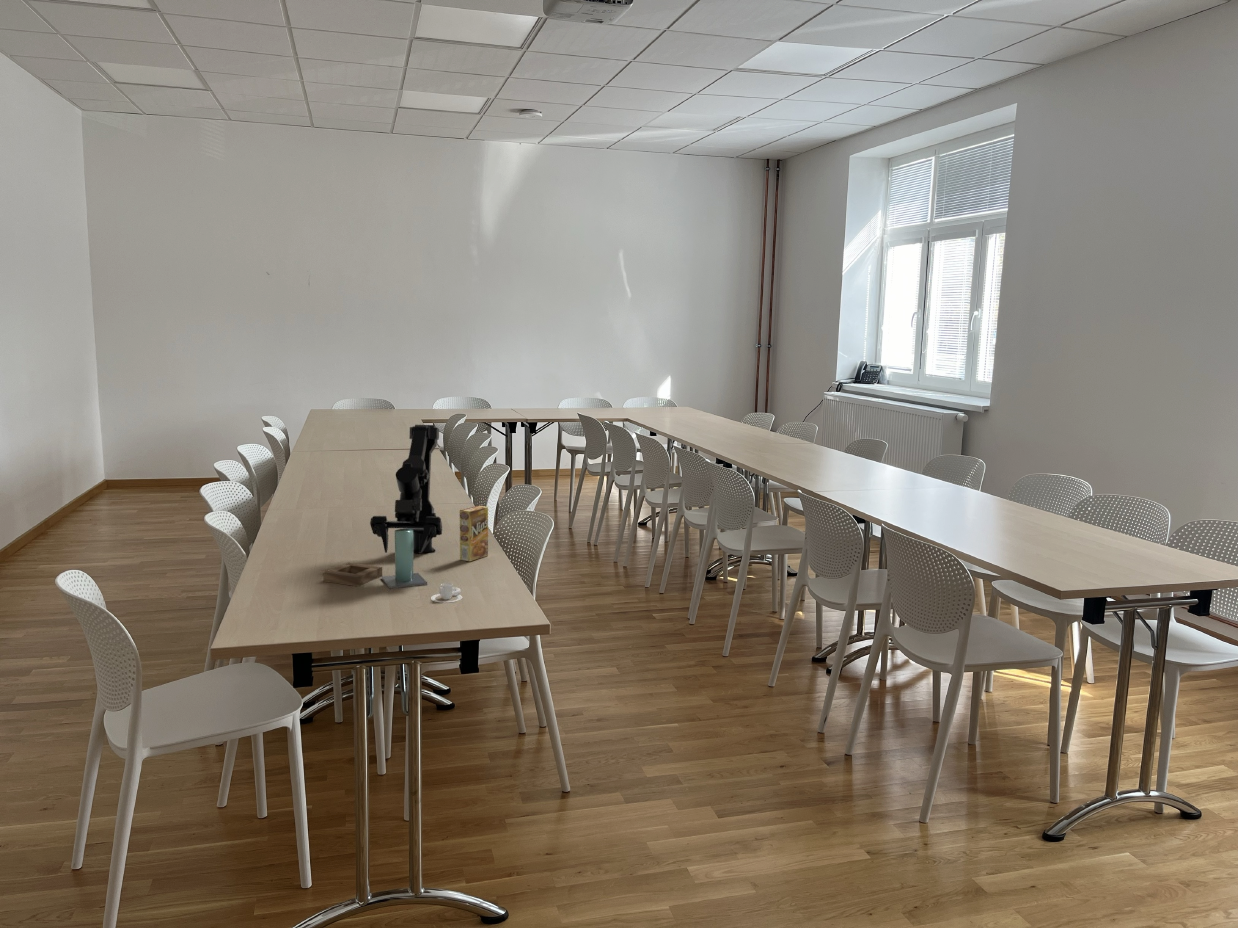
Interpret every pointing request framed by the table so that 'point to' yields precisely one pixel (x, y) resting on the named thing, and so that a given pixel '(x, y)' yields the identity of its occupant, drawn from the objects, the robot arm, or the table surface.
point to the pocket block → (352, 574)
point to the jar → (403, 555)
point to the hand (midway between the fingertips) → (403, 552)
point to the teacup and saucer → (447, 593)
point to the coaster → (393, 583)
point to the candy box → (473, 533)
